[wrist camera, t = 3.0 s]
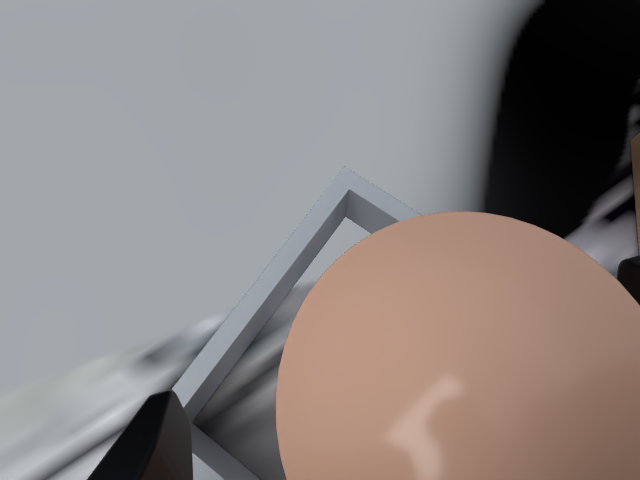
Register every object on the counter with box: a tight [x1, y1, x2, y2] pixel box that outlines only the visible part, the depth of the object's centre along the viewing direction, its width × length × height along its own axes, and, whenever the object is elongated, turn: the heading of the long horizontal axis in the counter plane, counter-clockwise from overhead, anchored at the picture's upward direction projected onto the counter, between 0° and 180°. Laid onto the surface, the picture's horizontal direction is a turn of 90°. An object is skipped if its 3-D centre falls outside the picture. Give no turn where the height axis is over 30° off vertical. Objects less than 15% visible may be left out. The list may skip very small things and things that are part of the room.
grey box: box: [172, 167, 422, 480], centre depth 14 cm, size 10×10×2 cm
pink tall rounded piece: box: [276, 211, 640, 480], centre depth 10 cm, size 5×5×10 cm
